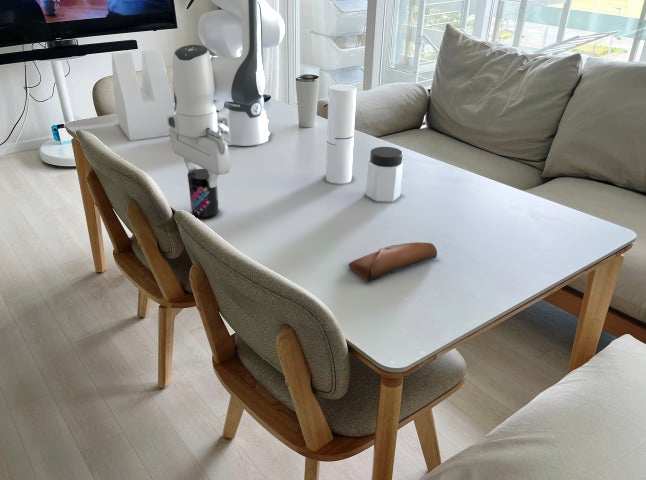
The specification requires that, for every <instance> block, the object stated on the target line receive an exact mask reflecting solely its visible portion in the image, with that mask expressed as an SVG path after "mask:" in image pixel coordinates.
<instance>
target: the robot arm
mask: <svg viewBox="0 0 646 480" xmlns="http://www.w3.org/2000/svg"><path fill="white" fill-rule="evenodd" d="M210 1H211V2H212V3H213V4H214V5H215V6H217V7H218V8H220V9H215V10H212V11H208V12H203V13H202V14H201V16H200V17H199V20H198V22H197V35H198V38H199V40H200V42H201V44H202V45H201V44H188V45H184V46H180V47H179V48H177V49H175V51H174V53H173V57H172V87H173V86H174V90H173V94H174V93H175V96H176V99H177V106H176V109H175V115H171V116H168V117H167V123H168V125H169V126H170V129H169V131H170V136H169V139H170V145H171V148H172V151H173V153H174V154H175V155H177V156H179V157H181V158H183V161H184V164H185V166H186V168H187V172H188V173H189V172H190V171H193V170H196V169H197V167H196V166H198V167H200V168H201V169H206V170H208V174H209V179H207V186H209V187H211V188H213V187H216V186H217V187H218V177H219V176H221V175H225V174H228V173H229V172H230V170H231V168H232V167H231V158H230V152H229V147H228V146H238V147H250V146H257V145H262V144H264V143H266V142H268V141H269V136H270V135H271V131H270V130H269V128H268V123H269V119H268V118H267V112H266V110H265V109H264V106H265V99H264V94H265V93H264V92H265V87H266V80H265V70H264V69H265V68H264V56H263V54H264V53H263V50H264V49H269V48H273V47H276V46H279V45H280V44H281V42H282V41H283V39H284V36H285V32H286V28H285V22H284V19H283V17H282V16H281V14H280V13H279V12H278V11H276V10H275V9H273V8H272V7H271V5H270V4H269V3H268V2H267V0H210ZM210 51H211V52H212V53H213V55H212V54H211V53H210ZM241 51H242V52H241ZM217 101H219V102H224V104H223V107H222V108H220V110H218V109H217V107H216V104H215V102H217ZM188 173H187V174H188ZM216 179H217V181H216Z"/></svg>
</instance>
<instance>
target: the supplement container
mask: <svg viewBox="0 0 646 480" xmlns="http://www.w3.org/2000/svg"><path fill="white" fill-rule="evenodd" d="M207 179H209V174H208V170H206V169H204V168H196V170H193V171H190V172H189V173H187V182H188V192H189V201H190V212H191V215H192V214H193V215H194V216H195V217H194V216H193V215H192V216H193V217H194V218H196V217H197V218H196V219H199V220H209V219H213V218H215V217H217V216H218V214H219V212H220V207H219V206H220V205H219V194H218V193H219V192H218V185H217V186H216V187H213V188H211V187H209V186H207ZM216 181H217V182H218V178H217V179H216Z"/></svg>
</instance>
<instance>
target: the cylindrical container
mask: <svg viewBox="0 0 646 480" xmlns="http://www.w3.org/2000/svg"><path fill="white" fill-rule="evenodd" d="M327 89H328V91H327V93H328V94H327V98H328V99H327V123H326V124H327V125H326V159H325V180H326V181H327V182H329V183H330V184H336V185H343V184H348V183H350V182H351V181H352V176H353V172H352V171H353V154H354V137H355V136H354V135H355V118H356V117H355V116H356V103H357V102H356V100H357V87H356V86H355V85H352V84H345V83H336V84H331V85H329V86H328V88H327Z"/></svg>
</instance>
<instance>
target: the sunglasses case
mask: <svg viewBox="0 0 646 480" xmlns="http://www.w3.org/2000/svg"><path fill="white" fill-rule="evenodd" d="M437 256H438V250H437V247H436V246H435V245H434V244H433V243H431V242H421V241H420V242H407V243H401V244H393V245H388V246H385V247H381V248H379V249H378V250H377V251H375V252H372V253H369V254H366V255H363V256H361V257H358V258H357V259H353V260H352V261H351V262H349V263H348V267H349V268H350V270H351V271H352V272H353V273H354V274H356V276H358V277H359V278H361V280H362V281H365V282H366V283H369V282H371V281H374V280H377V279H379V278H382V277H384V276H386V275H388V274H391V273H394V272H397V271H398V270H402V269H405V268H408V267H411V266H413V265H416V264H419V263H420V264H421V263H423V262H426V261H428V260H431V259H436V258H437Z"/></svg>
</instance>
